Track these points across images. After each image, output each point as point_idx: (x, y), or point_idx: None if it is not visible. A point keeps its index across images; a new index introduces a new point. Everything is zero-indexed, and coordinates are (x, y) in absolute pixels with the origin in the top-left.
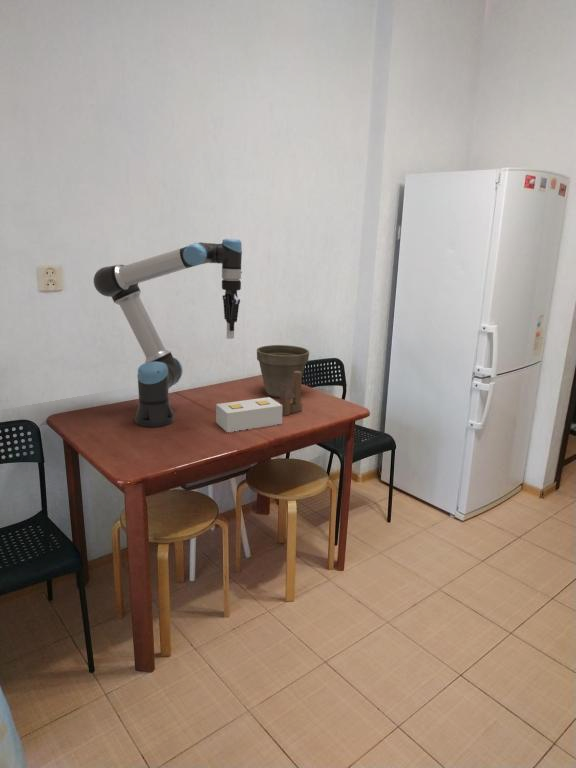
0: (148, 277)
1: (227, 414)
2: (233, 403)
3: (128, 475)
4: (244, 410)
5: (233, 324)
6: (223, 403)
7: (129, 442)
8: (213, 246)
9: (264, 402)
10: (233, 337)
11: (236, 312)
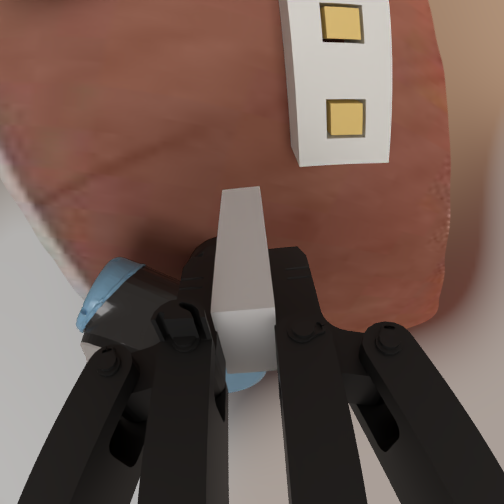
0: None
1: (387, 161)
2: (313, 113)
3: (427, 313)
4: (388, 108)
5: (317, 311)
6: (301, 143)
7: (326, 311)
8: None
9: (344, 17)
10: (260, 196)
11: (481, 472)
